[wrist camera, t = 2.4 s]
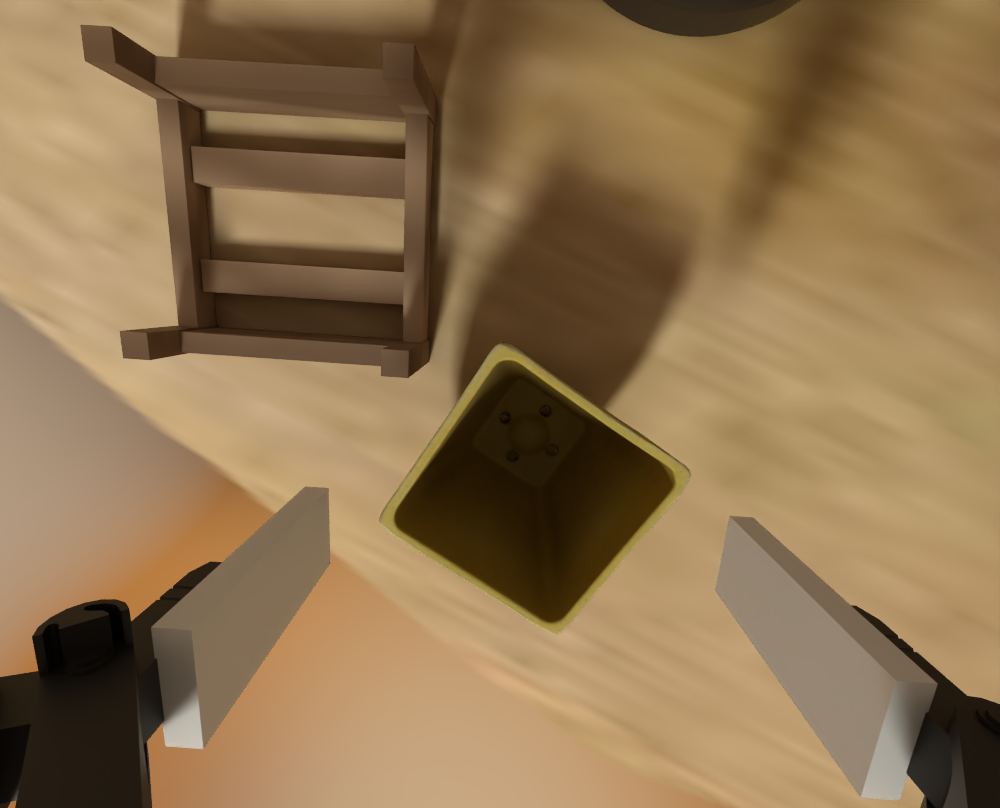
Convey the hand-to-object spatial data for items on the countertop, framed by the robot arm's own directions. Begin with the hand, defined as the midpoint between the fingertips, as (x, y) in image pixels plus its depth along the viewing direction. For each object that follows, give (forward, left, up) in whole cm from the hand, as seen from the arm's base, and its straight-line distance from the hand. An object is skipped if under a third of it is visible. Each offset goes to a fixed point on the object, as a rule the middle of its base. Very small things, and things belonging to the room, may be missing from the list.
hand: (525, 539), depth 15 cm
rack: (-10, -12, -11) cm, 19 cm away
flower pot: (0, 0, -12) cm, 12 cm away
